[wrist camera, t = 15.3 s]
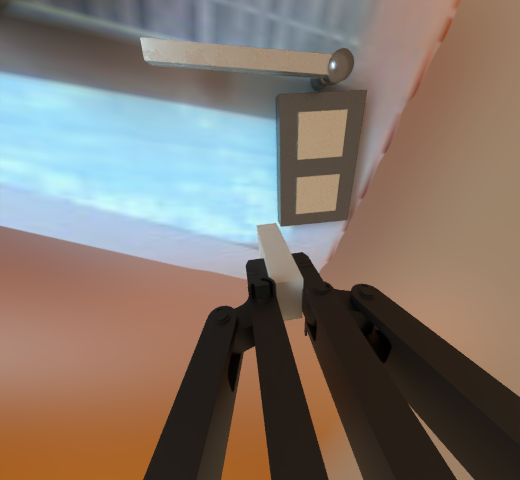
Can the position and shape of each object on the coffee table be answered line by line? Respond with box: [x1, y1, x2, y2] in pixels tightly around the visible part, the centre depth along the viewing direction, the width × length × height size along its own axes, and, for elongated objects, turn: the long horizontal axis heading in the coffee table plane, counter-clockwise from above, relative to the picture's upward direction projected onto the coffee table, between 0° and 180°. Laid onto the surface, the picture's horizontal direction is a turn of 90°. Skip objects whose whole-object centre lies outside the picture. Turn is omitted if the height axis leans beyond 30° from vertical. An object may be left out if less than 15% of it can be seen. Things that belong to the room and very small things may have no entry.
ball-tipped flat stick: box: [140, 37, 354, 85], centre depth 26 cm, size 26×3×3 cm, turn 88°
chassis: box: [276, 78, 367, 226], centre depth 36 cm, size 25×14×5 cm, turn 3°
